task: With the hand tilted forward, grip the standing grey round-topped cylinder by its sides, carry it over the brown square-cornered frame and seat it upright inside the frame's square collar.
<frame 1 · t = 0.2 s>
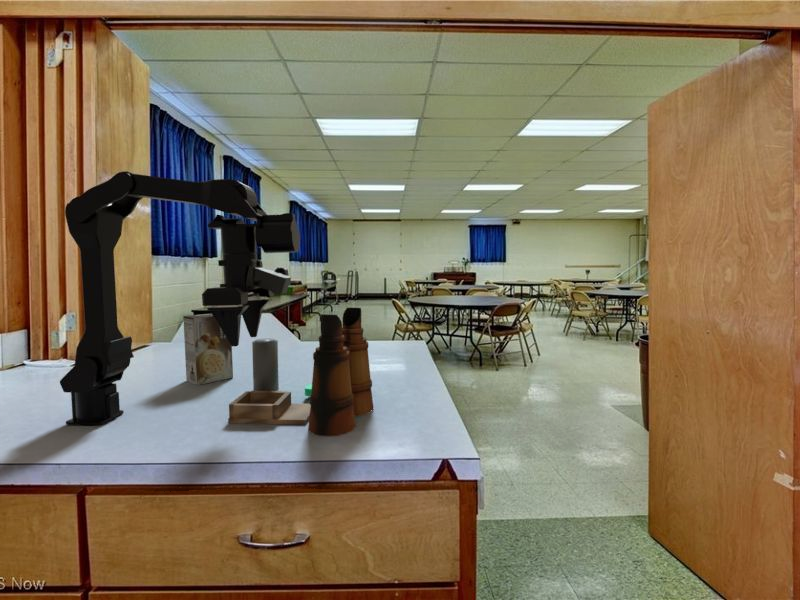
hand: (244, 341, 79), 15 cm above the countertop, tool pointing down, fingers open, 9 cm apart
coffee box: (209, 380, 108), on the countertop
binoculars: (342, 418, 82), on the countertop
brown square-cornered frame: (261, 414, 83), on the countertop
grey round-topped cylinder: (266, 400, 91), on the countertop
camera mount: (331, 394, 97), on the countertop
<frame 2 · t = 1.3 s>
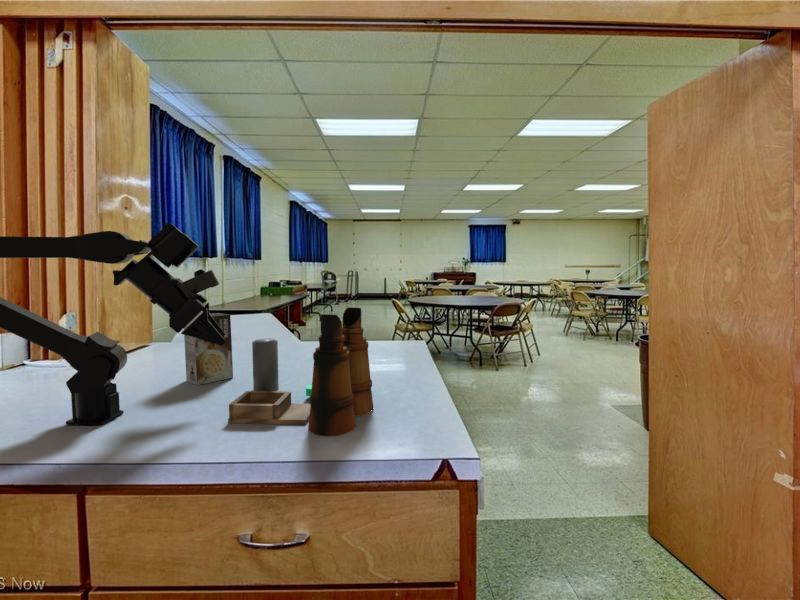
hand: (223, 339, 87), 13 cm above the countertop, tool tilted 45°, fingers open, 9 cm apart
nothing on the countertop moved.
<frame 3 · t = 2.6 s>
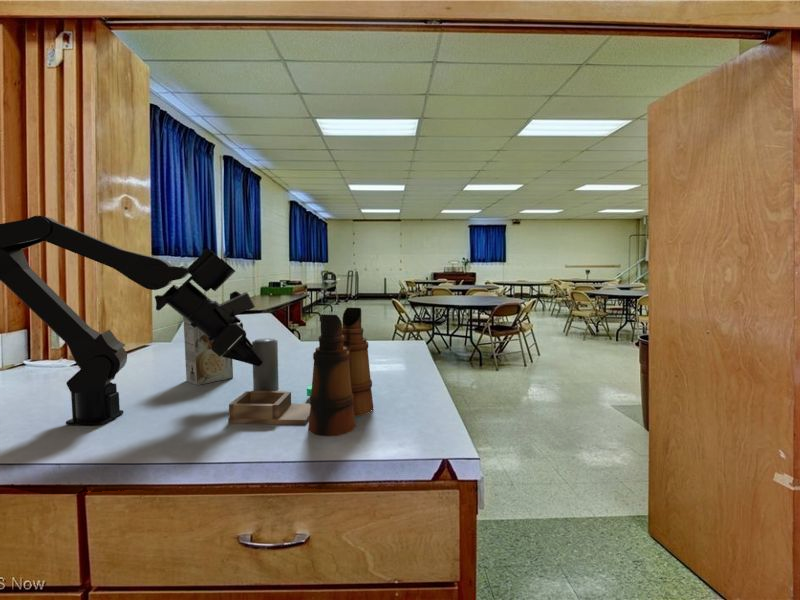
hand: (259, 359, 90), 9 cm above the countertop, tool tilted 45°, fingers open, 9 cm apart
nothing on the countertop moved.
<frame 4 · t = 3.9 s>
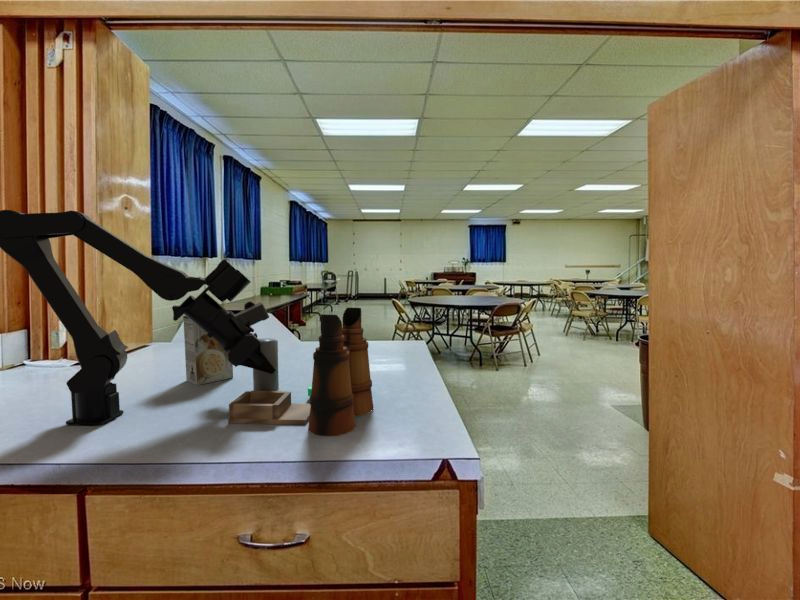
hand: (272, 369, 91), 7 cm above the countertop, tool tilted 45°, fingers closed on grey round-topped cylinder, 5 cm apart
grey round-topped cylinder: (266, 400, 91), on the countertop, touching gripper
everything else where it was.
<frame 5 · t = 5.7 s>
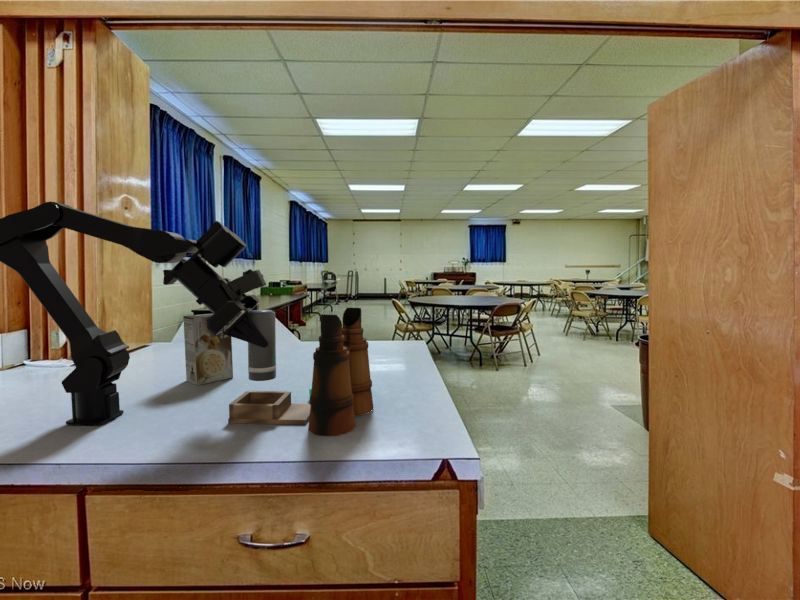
hand: (269, 343, 83), 13 cm above the countertop, tool tilted 45°, fingers closed on grey round-topped cylinder, 5 cm apart
grey round-topped cylinder: (262, 377, 83), point 7 cm above the countertop, touching gripper
everything else where it was.
when the fingers open (8 cm above the countertop, at t = 7.5 s): grey round-topped cylinder stays where it is, resting on brown square-cornered frame.
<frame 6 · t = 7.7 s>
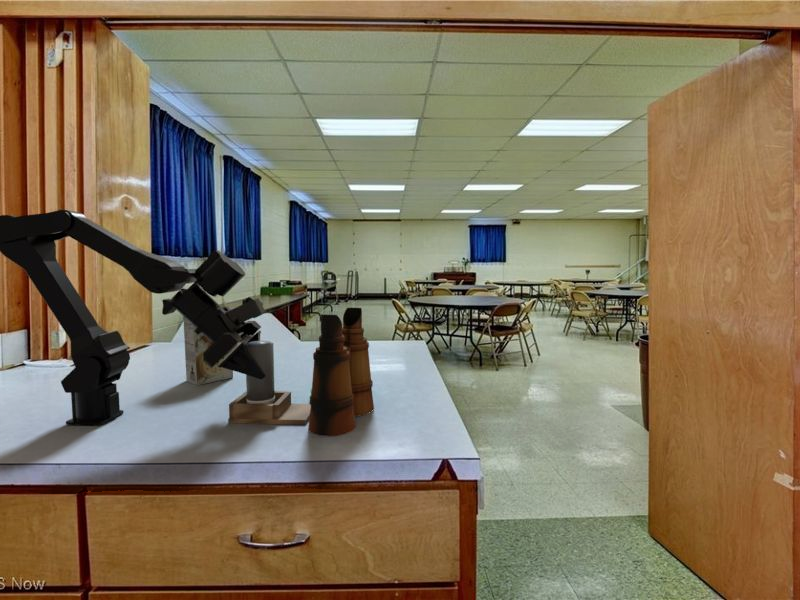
hand: (268, 372, 82), 8 cm above the countertop, tool tilted 45°, fingers open, 7 cm apart
grey round-topped cylinder: (261, 409, 83), point 1 cm above the countertop, touching brown square-cornered frame
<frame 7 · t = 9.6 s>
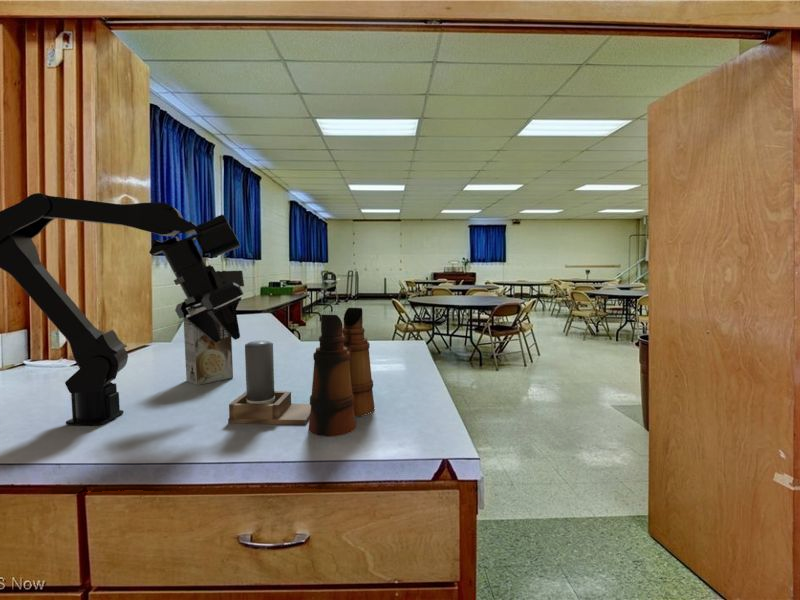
hand: (227, 340, 86), 13 cm above the countertop, tool tilted 25°, fingers open, 9 cm apart
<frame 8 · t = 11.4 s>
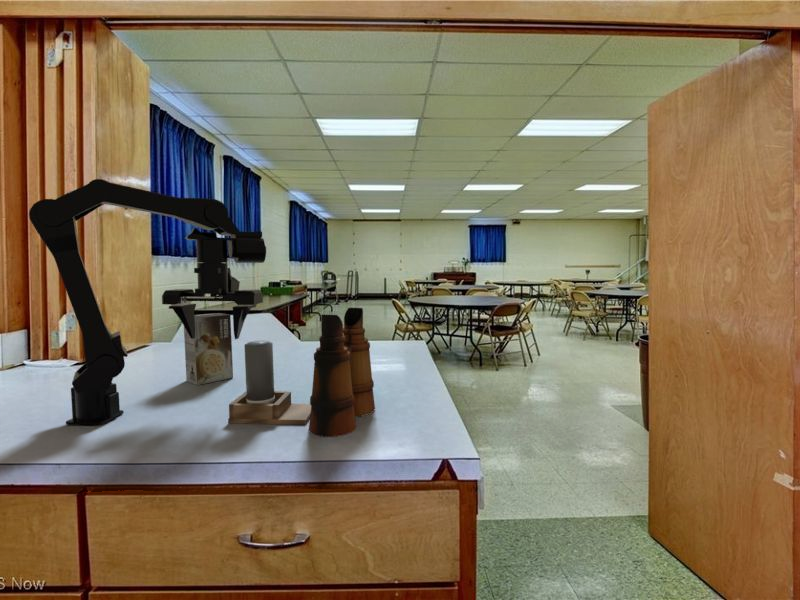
hand: (214, 338, 90), 13 cm above the countertop, tool pointing down, fingers open, 9 cm apart
at the end: grey round-topped cylinder 0.1 cm off-centre on the brown square-cornered frame, point 1.0 cm above the brown square-cornered frame's base; grey round-topped cylinder tilted 1°; the gripper is holding nothing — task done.
